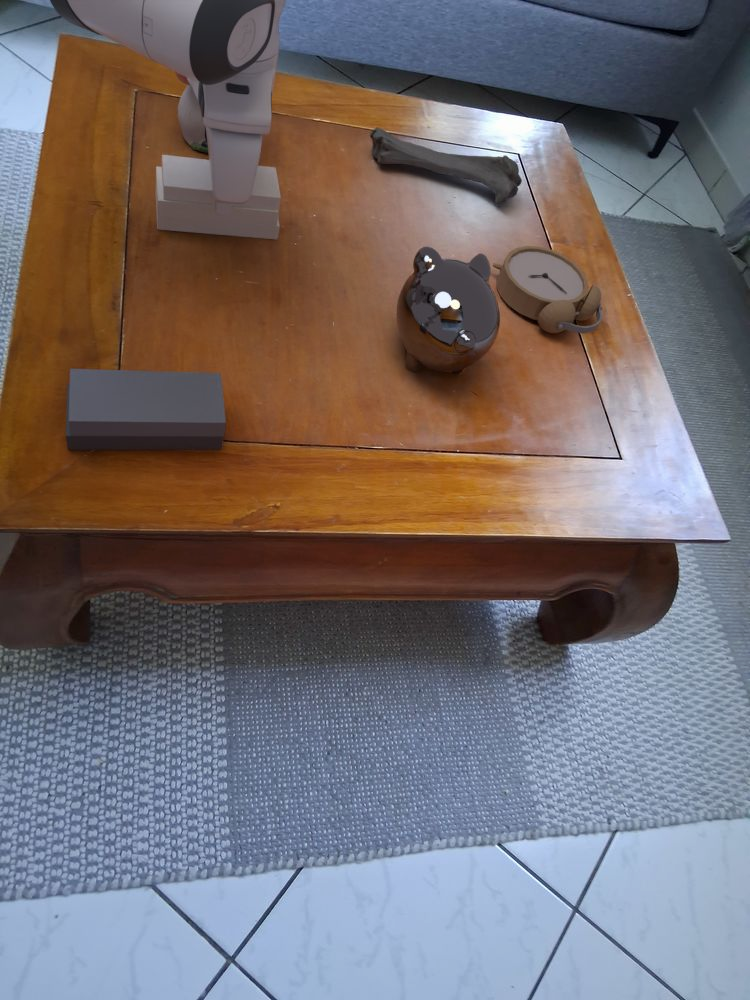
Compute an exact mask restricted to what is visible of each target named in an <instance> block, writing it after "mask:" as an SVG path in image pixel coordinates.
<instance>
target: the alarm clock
mask: <svg viewBox="0 0 750 1000" xmlns="http://www.w3.org/2000/svg"><path fill="white" fill-rule="evenodd" d="M492 267H493V268H495V269H497V270H500V272H499V273H498V275H497V278H496V288H497V291H498V293H499V296H500V297H501V299H502V300H503V301H504V302H505V303H506V304H507V306H509V308H512V309H513V311H515V312H517V313H518V314H520V315H522V316H525V317H527V318H529V319H531V320H535V321H537V324H538V325H539V327H540V328H541V329H542V330H543V331H544V332H546V333H549V334H550V333H551V334H558V333H561V332H564V331H565V330H567V331H569V332H572V333H576V334H588V333H592V332H594V331H595V330H597V328H598V327H599V326H600V324H601V322H602V319H603V315H602V310H603V306H601V305H602V303H601V300H602V292H601V289H600V288H599V287H598V286H597V285H596V284H592V285H591V287H590V289H589V280H588V278H587V276H586V274H585V273H584V271H583V269H582V268H580V266H578V264H577V263H576V262H575V261H573V260H572V259H570V258H569V257H567V256H566V255H564V254H562V253H560V252H558V251H555V250H553V249H550V248H546V247H542V246H536V245H535V246H534V245H531V246H530V245H525V246H519V247H516V248H514V249H513V250H511V251H508V253H507V254H506V256H505V258H504V261H503V264H501V263H493V264H492ZM594 315H595V317H596V322H595V323H594V324H590V325H585V326H584V325H577V324H573V323H574V321H575V320H577V321H583V322H584V321H587V320H588V319H590V318H592V317H593V316H594Z"/></svg>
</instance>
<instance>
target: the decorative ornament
mask: <svg viewBox="0 0 750 1000" xmlns="http://www.w3.org/2000/svg"><path fill="white" fill-rule="evenodd" d="M174 74H175V76H176V78H177V79H178V80H179V81H180V82H181V83H183V84H185V85H186V87H185V88H184V90H183V92H182V94H181V96H180V98H179V102H178V106H177V118H178V123H179V126H180V129H181V134H182V136H183V140H185V142H186V143H187V144H188V145H189V146H190V147H191V149H192V150H193V151H198V152H201V153H206V154H209V152H208V143H207V134H206V126H205V125H204V123H203V117H202V114H201V109H200V106H199V102H198V99H197V97H196V95H195V93H194V90H193V87H192V86H191V85H190V83H189V82H188V80H187V77H185V76H183V75H181V74H179V73H177V72H175V71H174Z"/></svg>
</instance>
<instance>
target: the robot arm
mask: <svg viewBox="0 0 750 1000" xmlns="http://www.w3.org/2000/svg"><path fill="white" fill-rule="evenodd" d="M49 2H50V4H51V5H52V7H53V8H54V10H55V11H56V13H57V14H58V15H59V16H60V17H61V18H62V19H63V20H65V21H66V22H67V23H70V24H72V25H73V26H76V27H79V28H81V29H84V30H87V31H88V32H91V33H94V34H96V35H98V36H102V37H105V38H107V39H108V40H110V41H113V42H115V43H117V44H119V45H120V46H123V47H125V48H126V49H129V50H131V51H132V52H135V53H137V54H138V55H140V56H142V57H144V58H146V59H148V60H150V61H152V62H154V63H157V64H159V65H161V66H164V67H165V68H167V69H168V70H171V71H173V72H174V73H175V72H177V73H179V74H181V75H183V76H185V77H187V80H188V82H189V83H190V85H191V86H192V87H193V90H194V93H195V95H196V97H197V99H198V102H199V106H200V109H201V114H202V117H203V123H204V125H205V126H206V134H207V143H208V152H209V153H208V160H209V161H210V170H211V179H212V192H213V197H214V200H215V209H216V213H217V214H218V215H224V216H230V215H231V214H232V210H233V204H246V203H247V202H248V200H249V199H250V197H251V194H252V190H253V186H254V181H255V177H256V172H257V168H258V166H259V163H260V158H261V152H262V145H263V135H269V134H270V131H271V127H272V118H273V117H272V116H273V100H272V99H273V94H274V88H275V82H276V76H277V75H276V74H277V67H278V60H279V53H280V46H281V36H280V35H281V34H280V26H279V25H280V20H281V19H280V18H281V15H282V13H283V11H284V8H285V7H286V4H287V0H49Z"/></svg>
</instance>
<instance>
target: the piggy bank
mask: <svg viewBox="0 0 750 1000" xmlns="http://www.w3.org/2000/svg"><path fill="white" fill-rule="evenodd" d="M412 262H413V263H412V265H413V266H412V267H413V272H412V273H411V274H410V275H409V277H407V279H406V280H405V282H404V283H403V286H402V287H401V290H400V292H399V294H398V299H397V301H396V302H397V303H396V313H395V314H396V315H395V316H396V325H397V330H398V333H399V336H400V337H399V338H400V339H401V341H402V344H403V346H404V348H405V349H406V350H407V352H406V356H405V359H404V360H405V362H404V363H405V367H406V368H407V369H408V370H410V371H412V372H415V371H419V370H420V369H421V368H422V367H423V366H424V367H426V368H428V369H430V370H433V371H437V372H443V373H451V374H454V375H460V374H462V373H463V372H464V370H465V369H467V368H469V367H472V366H473V365H475V364H476V363H478V362H479V361H480V360H482V359H483V358H484V357H485V356H486V355H487V354H488V353H489V351H490V350H491V349H492V347H493V346H494V344H495V342H496V340H497V337H498V334H499V331H500V326H501V314H500V313H501V312H500V308H499V303H498V300H497V296H496V295H495V292H494V290H493V288H492V286H491V285H490V278H491V276H492V275H491V274H492V269H491V264H490V260H489V258H488V257H487V256H486V254H484V253H482V252H480V253H477V254H476V255H475V256H474V257H473V258H472V259H470V261H469V262H465V261H463V260H459V259H455V258H442V256H441V254H440V253H439V252H438V251H437V250H436V249H434V248H433V247H431V246H423V247H421V248H419V249H418V250H417V251H416V253H415V255H414V257H413V261H412Z"/></svg>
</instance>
